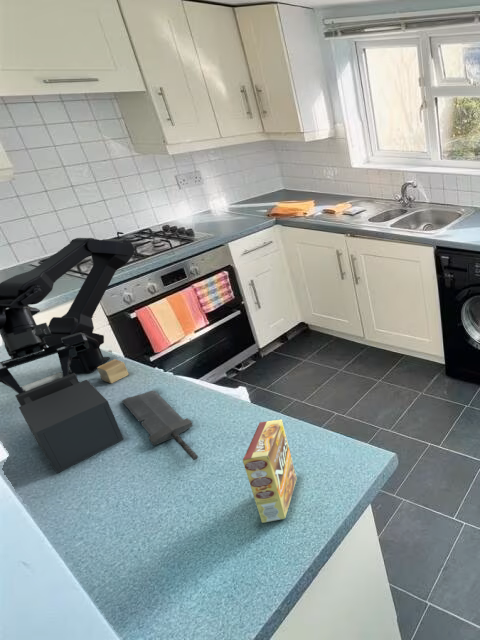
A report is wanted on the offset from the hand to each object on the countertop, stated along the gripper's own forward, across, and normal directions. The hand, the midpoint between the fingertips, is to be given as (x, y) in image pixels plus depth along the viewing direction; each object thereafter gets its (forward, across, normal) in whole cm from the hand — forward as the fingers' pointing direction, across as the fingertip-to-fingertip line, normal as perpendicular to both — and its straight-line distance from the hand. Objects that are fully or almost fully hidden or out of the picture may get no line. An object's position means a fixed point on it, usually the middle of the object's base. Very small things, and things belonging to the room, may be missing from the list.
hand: (46, 389), depth 96 cm
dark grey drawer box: (+16, +1, -5) cm, 17 cm away
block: (0, +12, +11) cm, 16 cm away
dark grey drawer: (+8, +1, +1) cm, 8 cm away
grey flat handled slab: (+22, +14, -11) cm, 28 cm away
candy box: (+50, +21, -38) cm, 67 cm away
